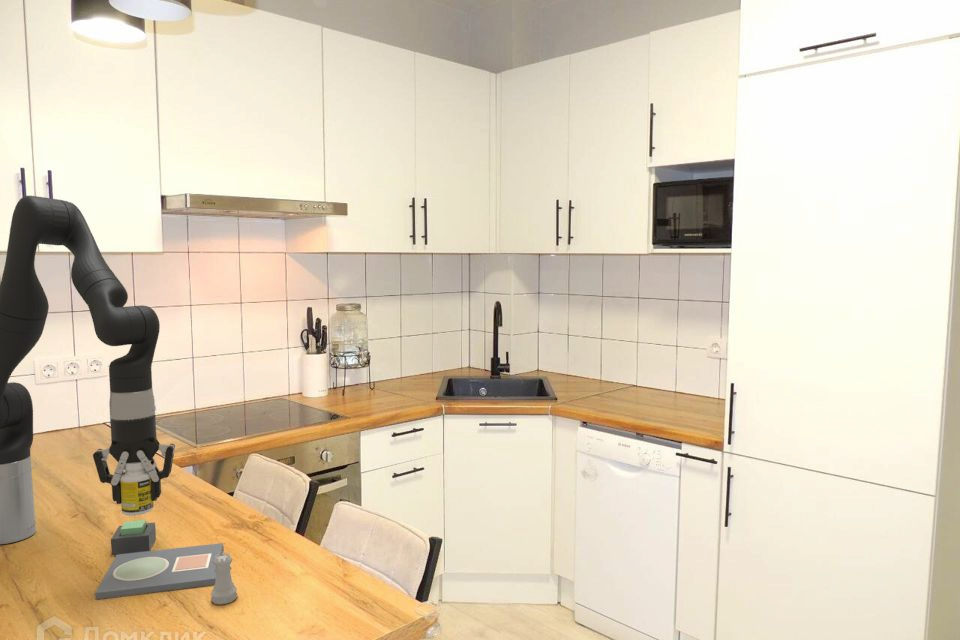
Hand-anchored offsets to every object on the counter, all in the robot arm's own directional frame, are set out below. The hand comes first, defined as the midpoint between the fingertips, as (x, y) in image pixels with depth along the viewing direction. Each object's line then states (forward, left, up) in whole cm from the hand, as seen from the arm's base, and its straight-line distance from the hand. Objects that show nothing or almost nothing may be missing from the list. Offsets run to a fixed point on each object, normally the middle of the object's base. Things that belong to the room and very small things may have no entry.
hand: (137, 500), depth 129 cm
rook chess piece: (+16, -14, -15) cm, 26 cm away
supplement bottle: (0, 0, -2) cm, 2 cm away
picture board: (+4, 0, -15) cm, 15 cm away
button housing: (-4, +14, -15) cm, 21 cm away
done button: (-4, +14, -12) cm, 19 cm away
